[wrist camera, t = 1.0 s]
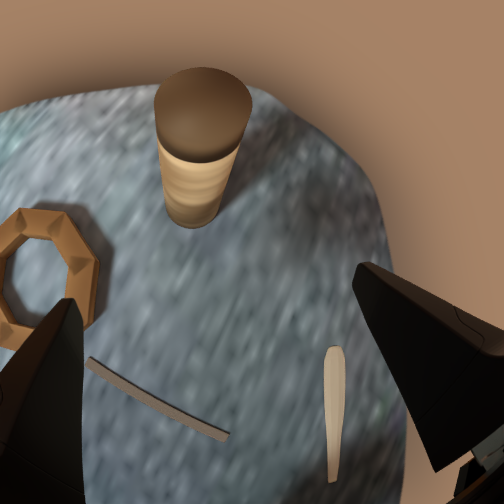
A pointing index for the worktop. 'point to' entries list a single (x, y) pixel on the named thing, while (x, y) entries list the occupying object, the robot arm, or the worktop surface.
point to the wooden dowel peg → (198, 140)
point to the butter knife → (334, 406)
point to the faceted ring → (71, 249)
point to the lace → (155, 402)
